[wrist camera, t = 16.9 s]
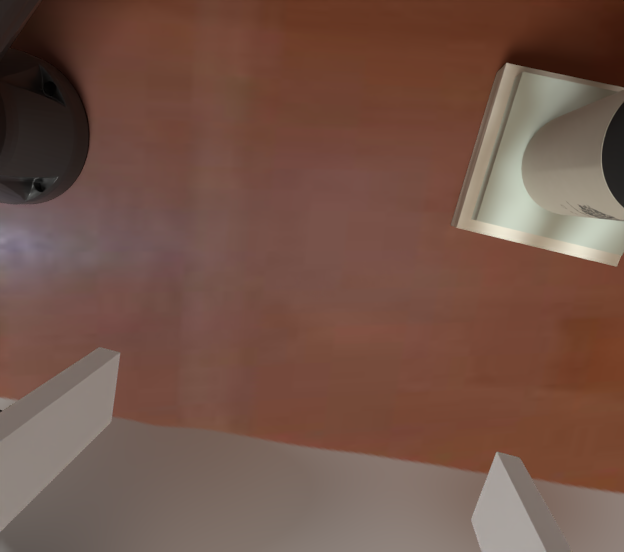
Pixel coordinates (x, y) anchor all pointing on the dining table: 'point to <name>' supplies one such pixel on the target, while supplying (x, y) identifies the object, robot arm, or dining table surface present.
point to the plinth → (482, 161)
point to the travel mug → (579, 162)
